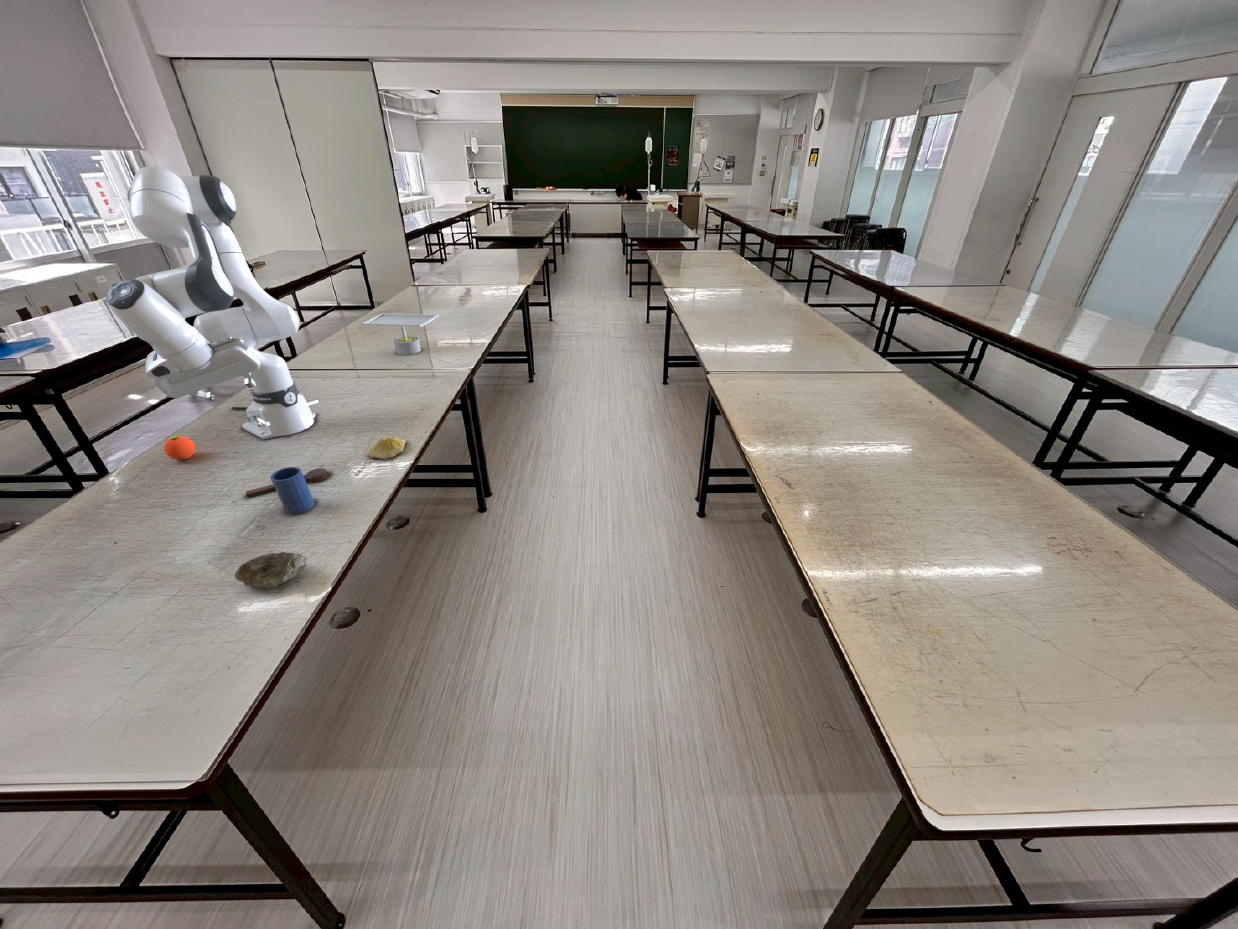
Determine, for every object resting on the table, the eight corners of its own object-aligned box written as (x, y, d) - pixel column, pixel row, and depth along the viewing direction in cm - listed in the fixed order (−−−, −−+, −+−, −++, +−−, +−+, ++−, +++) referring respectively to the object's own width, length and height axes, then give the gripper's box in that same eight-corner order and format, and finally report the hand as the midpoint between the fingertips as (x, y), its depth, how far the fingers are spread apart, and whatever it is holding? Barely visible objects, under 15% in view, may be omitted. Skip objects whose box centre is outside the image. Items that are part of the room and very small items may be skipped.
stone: (320, 557, 106) (292, 550, 99) (307, 594, 104) (277, 590, 96) (270, 551, 109) (239, 543, 101) (256, 587, 106) (223, 582, 99)
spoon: (247, 500, 128) (244, 496, 127) (247, 491, 132) (245, 486, 131) (329, 478, 136) (327, 474, 136) (327, 470, 140) (325, 465, 139)
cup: (280, 514, 123) (264, 480, 118) (295, 499, 128) (281, 466, 123) (305, 514, 123) (290, 481, 117) (319, 499, 128) (306, 467, 123)
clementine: (167, 457, 147) (155, 436, 144) (195, 448, 152) (184, 428, 148) (173, 466, 143) (161, 445, 139) (202, 457, 147) (191, 436, 143)
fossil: (378, 424, 151) (408, 427, 149) (386, 438, 155) (415, 442, 153) (358, 449, 143) (389, 453, 141) (366, 463, 147) (397, 467, 146)
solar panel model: (369, 356, 222) (360, 323, 214) (390, 344, 236) (381, 312, 229) (427, 359, 219) (420, 325, 211) (444, 346, 233) (438, 314, 225)
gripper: (236, 326, 113) (275, 369, 125) (139, 358, 109) (189, 399, 121) (237, 343, 110) (277, 385, 121) (137, 377, 106) (188, 417, 117)
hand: (232, 392), depth 121 cm, fingers open, 8 cm apart
